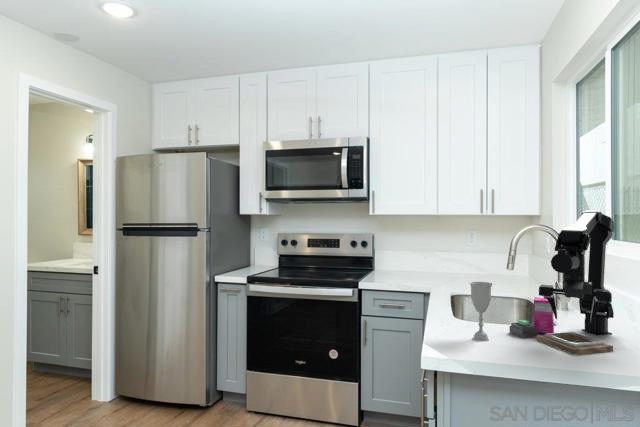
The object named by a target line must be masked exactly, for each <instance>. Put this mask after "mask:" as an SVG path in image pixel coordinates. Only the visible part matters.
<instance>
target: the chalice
mask: <svg viewBox="0 0 640 427" xmlns="http://www.w3.org/2000/svg"><path fill="white" fill-rule="evenodd" d="M469 284H470V299H471V302H472V305H473V307H474V309H475V311H476V312H478V313H479V314H478V315H479V316H478V318H477V319H478V321H479V322H478V323H477V325H478V327H479V328H478V329H479V330H477V331H475V332H474V334H473V338H472V339H473V340H475V341H478V342H488V341H490V339H489V336H488V334H487V332H485V331H484V330H483V326H484V322H483V320H484V317H483V314H484V313H485V312H486V311H487V309H488V307H489V305H490V303H491V301H492V286H493V283H492V282H487V281H471V282H469Z"/></svg>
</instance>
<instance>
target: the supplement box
mask: <svg viewBox="0 0 640 427" xmlns="http://www.w3.org/2000/svg"><path fill="white" fill-rule="evenodd" d="M533 325H534V326H536V329H538V335H545V334H546V333H555V329H554V328H555V327H554V326H555V322H554V313H553V310H552V307H551V305H550V303H549V301H548V300H547V299H544V297H536V296H535V297H534V298H533Z"/></svg>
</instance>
